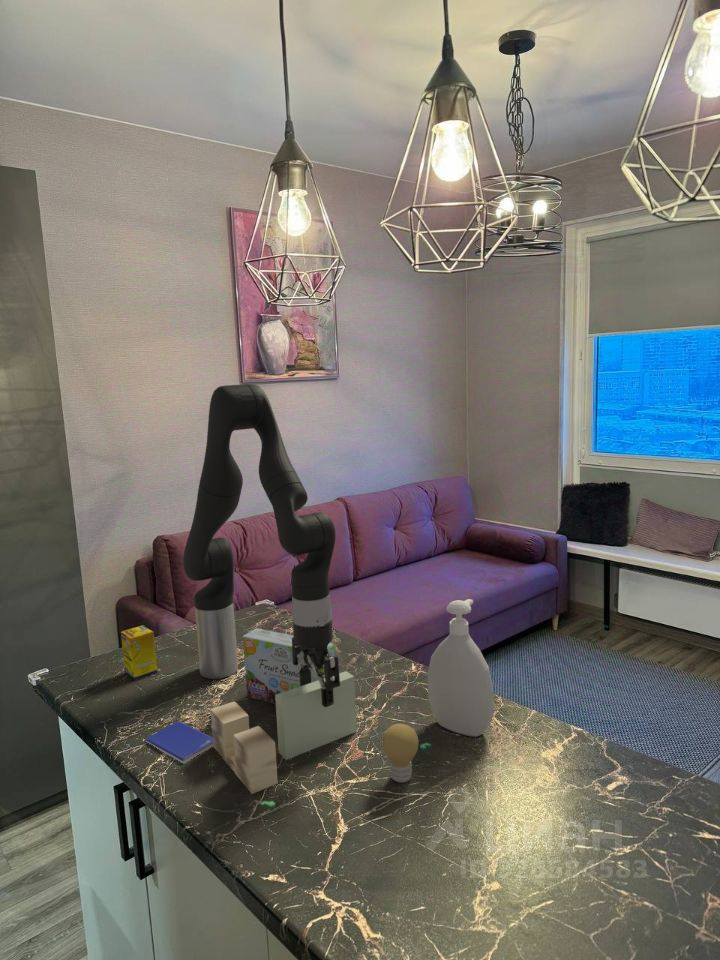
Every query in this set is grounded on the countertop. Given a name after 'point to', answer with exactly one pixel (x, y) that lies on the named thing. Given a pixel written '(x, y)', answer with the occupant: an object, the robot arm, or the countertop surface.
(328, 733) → the sage plate
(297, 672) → the snack box
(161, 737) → the hard drive
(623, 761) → the countertop surface
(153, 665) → the supplement box
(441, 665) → the soap bottle
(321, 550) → the robot arm
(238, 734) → the slotted block
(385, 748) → the light bulb
